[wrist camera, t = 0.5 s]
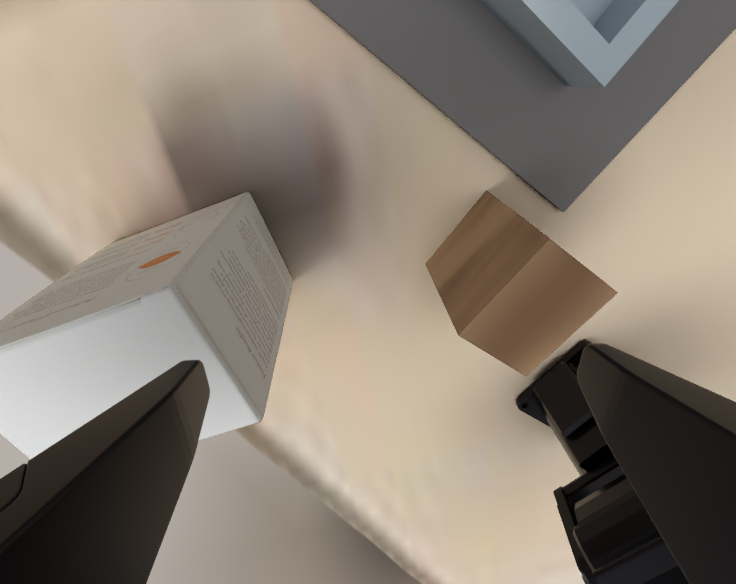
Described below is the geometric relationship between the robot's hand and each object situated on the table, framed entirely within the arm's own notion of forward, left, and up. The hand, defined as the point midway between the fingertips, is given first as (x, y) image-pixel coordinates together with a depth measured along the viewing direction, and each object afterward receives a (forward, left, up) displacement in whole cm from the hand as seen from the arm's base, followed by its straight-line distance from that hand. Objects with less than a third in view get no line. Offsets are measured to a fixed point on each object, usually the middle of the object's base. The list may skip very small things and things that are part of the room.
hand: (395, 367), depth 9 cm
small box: (+5, +7, -13) cm, 16 cm away
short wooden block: (-7, -2, -13) cm, 14 cm away
